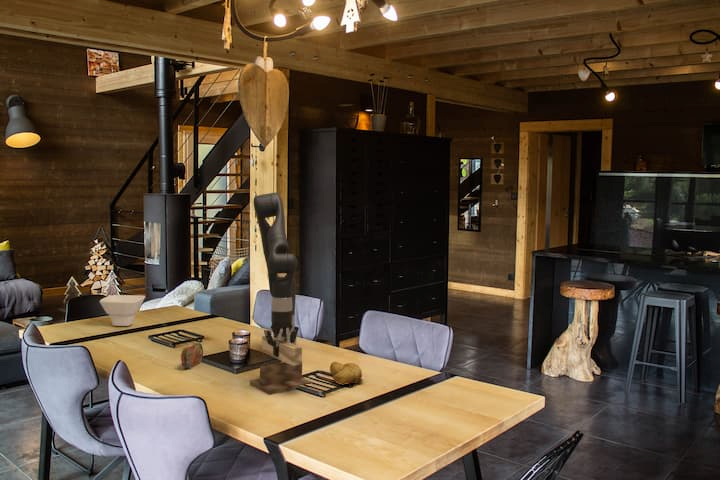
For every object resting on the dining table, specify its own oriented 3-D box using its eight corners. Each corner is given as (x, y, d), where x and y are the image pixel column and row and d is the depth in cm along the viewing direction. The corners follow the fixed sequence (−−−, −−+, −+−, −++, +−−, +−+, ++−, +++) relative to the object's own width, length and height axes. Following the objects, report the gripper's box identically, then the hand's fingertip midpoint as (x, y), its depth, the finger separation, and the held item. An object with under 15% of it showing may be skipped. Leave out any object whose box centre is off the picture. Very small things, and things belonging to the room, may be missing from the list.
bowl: (135, 330, 324) (135, 302, 322) (96, 329, 324) (95, 301, 323) (148, 322, 342) (148, 295, 341) (111, 321, 342) (110, 294, 341)
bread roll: (354, 376, 254) (355, 356, 254) (370, 383, 247) (370, 362, 246) (327, 382, 247) (327, 361, 246) (342, 389, 239) (342, 367, 238)
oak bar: (270, 350, 250) (270, 335, 250) (301, 364, 233) (302, 347, 233) (262, 352, 248) (262, 336, 248) (293, 365, 231) (293, 348, 230)
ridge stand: (292, 376, 253) (292, 356, 252) (312, 385, 242) (312, 364, 241) (249, 384, 242) (250, 363, 241) (269, 394, 230) (269, 372, 230)
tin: (187, 371, 257) (187, 349, 256) (179, 370, 258) (179, 349, 257) (203, 361, 272) (203, 340, 271) (196, 360, 272) (196, 340, 272)
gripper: (293, 305, 246) (292, 350, 248) (259, 309, 238) (259, 356, 239) (304, 308, 240) (303, 355, 242) (270, 312, 232) (269, 361, 233)
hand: (281, 355), depth 241 cm, fingers closed on oak bar, 3 cm apart
